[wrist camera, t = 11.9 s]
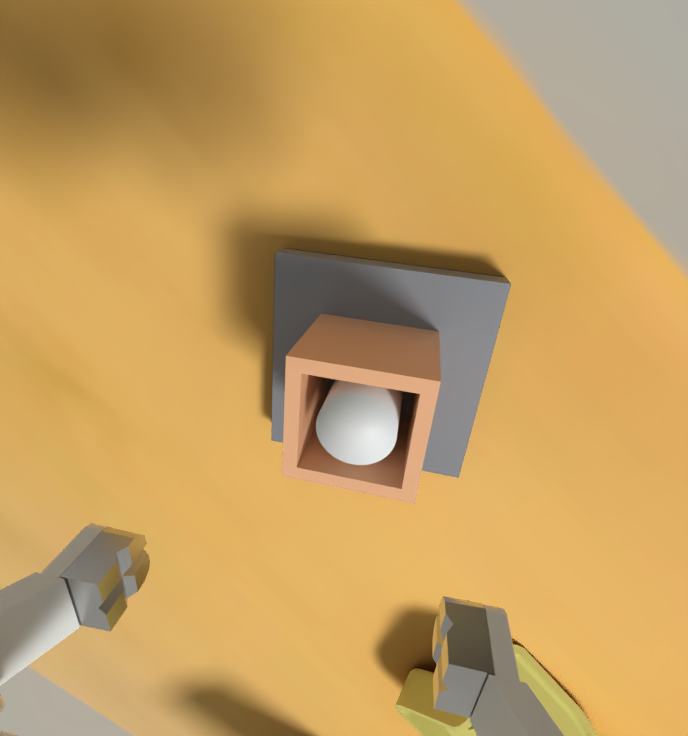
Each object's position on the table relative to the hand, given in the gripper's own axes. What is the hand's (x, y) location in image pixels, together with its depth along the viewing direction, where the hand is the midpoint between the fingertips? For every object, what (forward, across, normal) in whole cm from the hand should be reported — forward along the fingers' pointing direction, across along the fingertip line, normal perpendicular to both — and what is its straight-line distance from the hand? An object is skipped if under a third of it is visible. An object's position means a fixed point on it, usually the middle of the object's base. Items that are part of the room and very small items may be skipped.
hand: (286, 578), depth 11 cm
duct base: (+15, -1, 0) cm, 15 cm away
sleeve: (+14, -1, +1) cm, 14 cm away
